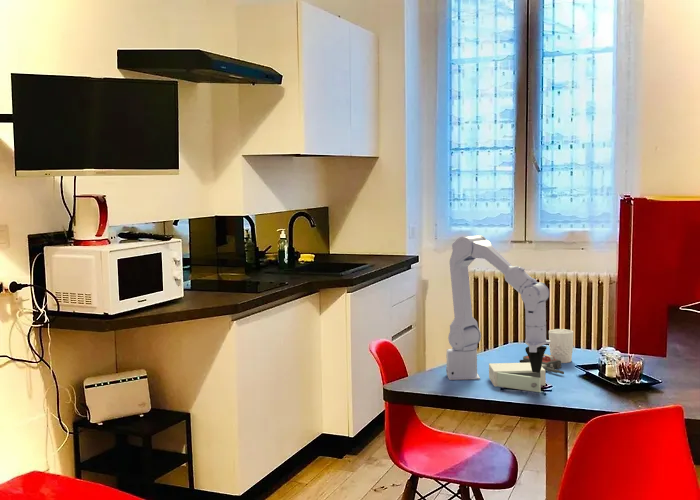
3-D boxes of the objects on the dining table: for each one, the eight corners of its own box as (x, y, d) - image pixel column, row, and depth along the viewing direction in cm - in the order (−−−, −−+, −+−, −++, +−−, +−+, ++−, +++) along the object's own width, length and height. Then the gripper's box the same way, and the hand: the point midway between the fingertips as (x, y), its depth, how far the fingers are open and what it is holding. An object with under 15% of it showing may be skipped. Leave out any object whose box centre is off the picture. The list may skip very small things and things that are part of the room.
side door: (495, 387, 222) (495, 373, 222) (498, 385, 224) (498, 372, 223) (538, 393, 215) (538, 379, 214) (540, 391, 216) (540, 377, 216)
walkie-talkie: (514, 366, 250) (561, 378, 233) (514, 352, 249) (561, 363, 233) (533, 362, 254) (580, 373, 238) (533, 349, 254) (580, 359, 237)
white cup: (578, 361, 252) (578, 331, 251) (562, 364, 248) (562, 334, 247) (559, 357, 259) (559, 328, 258) (543, 360, 254) (543, 331, 253)
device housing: (494, 386, 224) (494, 371, 224) (489, 377, 234) (488, 363, 234) (545, 385, 223) (545, 370, 223) (538, 376, 234) (538, 362, 233)
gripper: (547, 330, 210) (547, 378, 211) (552, 321, 223) (553, 366, 224) (521, 329, 212) (522, 377, 213) (528, 320, 226) (528, 365, 227)
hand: (536, 371), depth 219 cm, fingers closed
